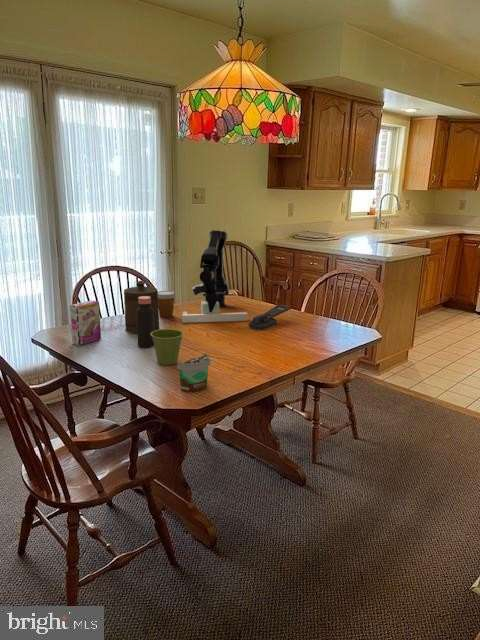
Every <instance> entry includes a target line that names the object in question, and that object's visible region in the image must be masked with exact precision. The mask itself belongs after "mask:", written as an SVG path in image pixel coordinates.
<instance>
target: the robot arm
mask: <svg viewBox="0 0 480 640" xmlns="http://www.w3.org/2000/svg"><path fill="white" fill-rule="evenodd" d="M227 240H228V233H227V232H226V231H225V230H223V231H222V230H215V229H214V230H210V232H209V241H208V244H207V245H208V246H207V248H206V249H204V250H203V253H202V254H201V258H200V265H199V268H200V269H203V270H202V271H201V272H200V274H199V280H200V281H201V283H200V284H197V285H194V286H193V287H191V290H192V291H193V294H194V296H197V295H198V294H201V293H202V296H203V297H204V301H207V302H208V306H209V311H210V312H212V311H213V309H214V306H215V304H216V302H217V301H218V302H219V307H227V304H226V296H228V295H229V286H228V283H227V280H226V278H225V276H224V247H225V245H226V244H227Z"/></svg>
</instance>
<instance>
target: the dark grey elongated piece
mask: <svg viewBox="0 0 480 640" xmlns="http://www.w3.org/2000/svg"><path fill="white" fill-rule="evenodd" d="M291 309H292V307H291V306H288V305H284V304H277V305H275V306H274V307H272V308H271V309H269V310H267V311H265V312H264V313H262V314H259V315H256V316H254V317H253V318H252V320H250V321H249V322H248V328H250V329H251V330H254V331H256V330H257V331H265V330H268V329H270V328H272V327H274V326H276V325H277V319H275V318H276V317H277V316H279V315H282V314H283V313H286V312H287V311H289V310H291Z"/></svg>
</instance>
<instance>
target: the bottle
mask: <svg viewBox="0 0 480 640" xmlns="http://www.w3.org/2000/svg"><path fill="white" fill-rule="evenodd" d="M138 303H139V307H138V309H137V310H136V316H137V334H136V336H137V347H139V348H142V349H151V348H152V347H155V345H154V342H153V338H152V336H151V335H150V334H151V332H153V331H154V309H153V308H152V307H151V306H150V304H151V297H149V296H141V297H138Z"/></svg>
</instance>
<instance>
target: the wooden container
mask: <svg viewBox="0 0 480 640" xmlns="http://www.w3.org/2000/svg"><path fill="white" fill-rule="evenodd" d="M158 292H159V291H158V288H156V287H154V286H145V282H144V281H143V280H138V281H137V282H136V286H131V287H127V288H125V289H124V290H123V299H124V301H123V302H124V322H125V331H126V332H128V333H129V332H130V333H131V334H133V335H134V334H135V335H137V316H136V310H137V309H138V307H139V303H138V297H141V296H149V297H151V304H150V306H151V307H152V308H153V309H154V331H156V330H160V315H159V309H158Z"/></svg>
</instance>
